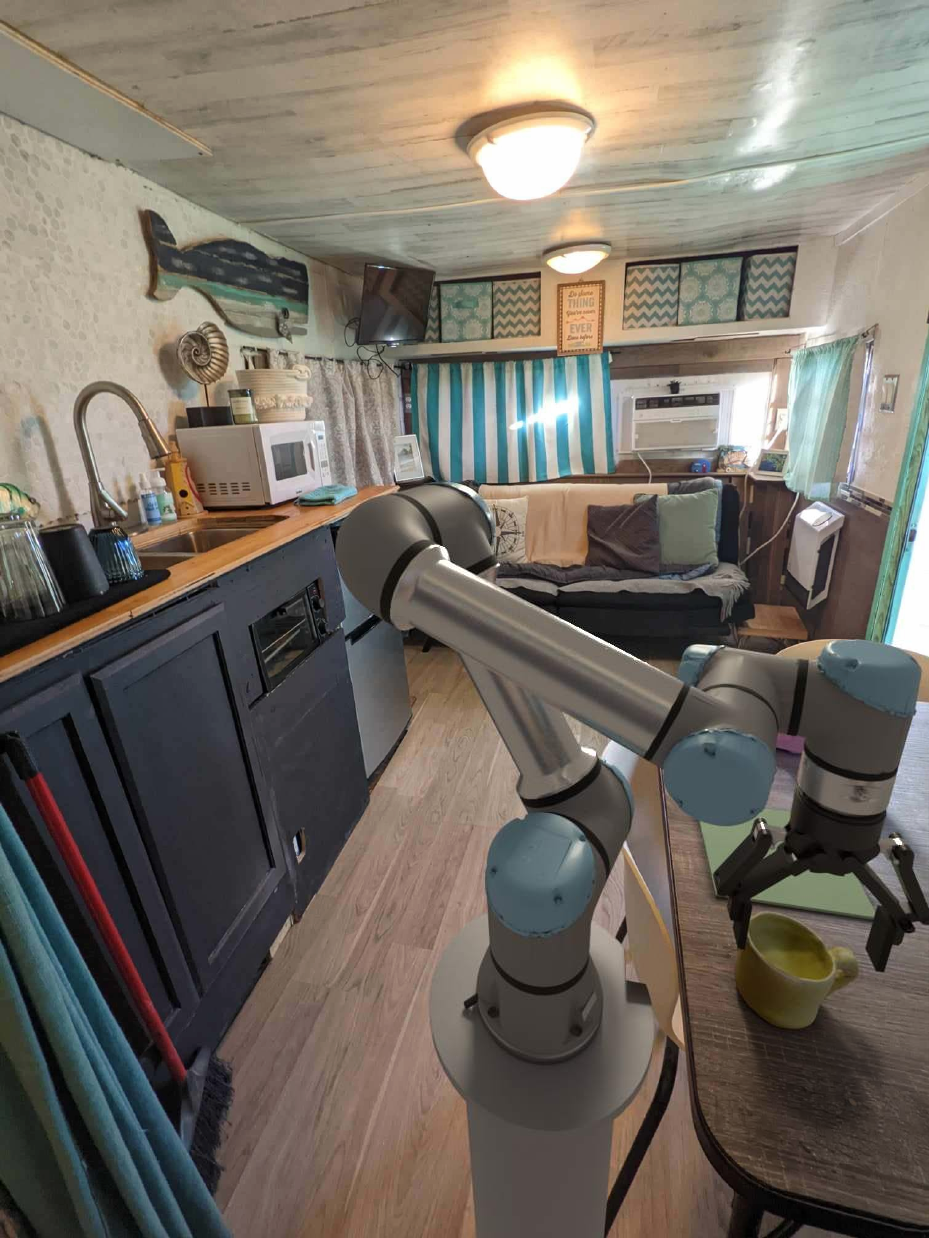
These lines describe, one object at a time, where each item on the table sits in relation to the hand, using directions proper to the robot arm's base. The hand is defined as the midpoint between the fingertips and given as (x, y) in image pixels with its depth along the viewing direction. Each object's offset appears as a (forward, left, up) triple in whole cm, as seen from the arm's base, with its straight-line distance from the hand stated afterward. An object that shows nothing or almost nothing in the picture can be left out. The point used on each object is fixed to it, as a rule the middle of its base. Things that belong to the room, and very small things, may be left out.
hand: (804, 949), depth 61 cm
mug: (0, 0, -8) cm, 8 cm away
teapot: (+14, +55, -8) cm, 57 cm away
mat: (+4, +23, -8) cm, 25 cm away
